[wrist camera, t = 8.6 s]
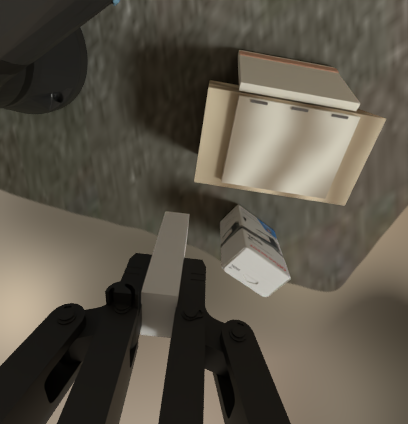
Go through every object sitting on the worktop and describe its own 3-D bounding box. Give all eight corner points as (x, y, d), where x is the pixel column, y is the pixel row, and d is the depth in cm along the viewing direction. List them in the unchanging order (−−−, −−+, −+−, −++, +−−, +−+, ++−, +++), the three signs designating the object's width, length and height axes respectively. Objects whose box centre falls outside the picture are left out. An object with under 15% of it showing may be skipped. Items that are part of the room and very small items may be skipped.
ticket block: (198, 154, 39) (193, 185, 30) (209, 79, 35) (208, 88, 25) (316, 173, 40) (348, 209, 31) (343, 103, 36) (391, 120, 26)
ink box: (275, 230, 46) (293, 279, 36) (255, 248, 48) (267, 300, 38) (237, 202, 43) (245, 247, 33) (218, 222, 45) (220, 270, 35)
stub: (239, 90, 26) (241, 81, 26) (237, 56, 33) (239, 48, 33) (356, 111, 27) (361, 102, 26) (330, 74, 34) (334, 66, 33)
